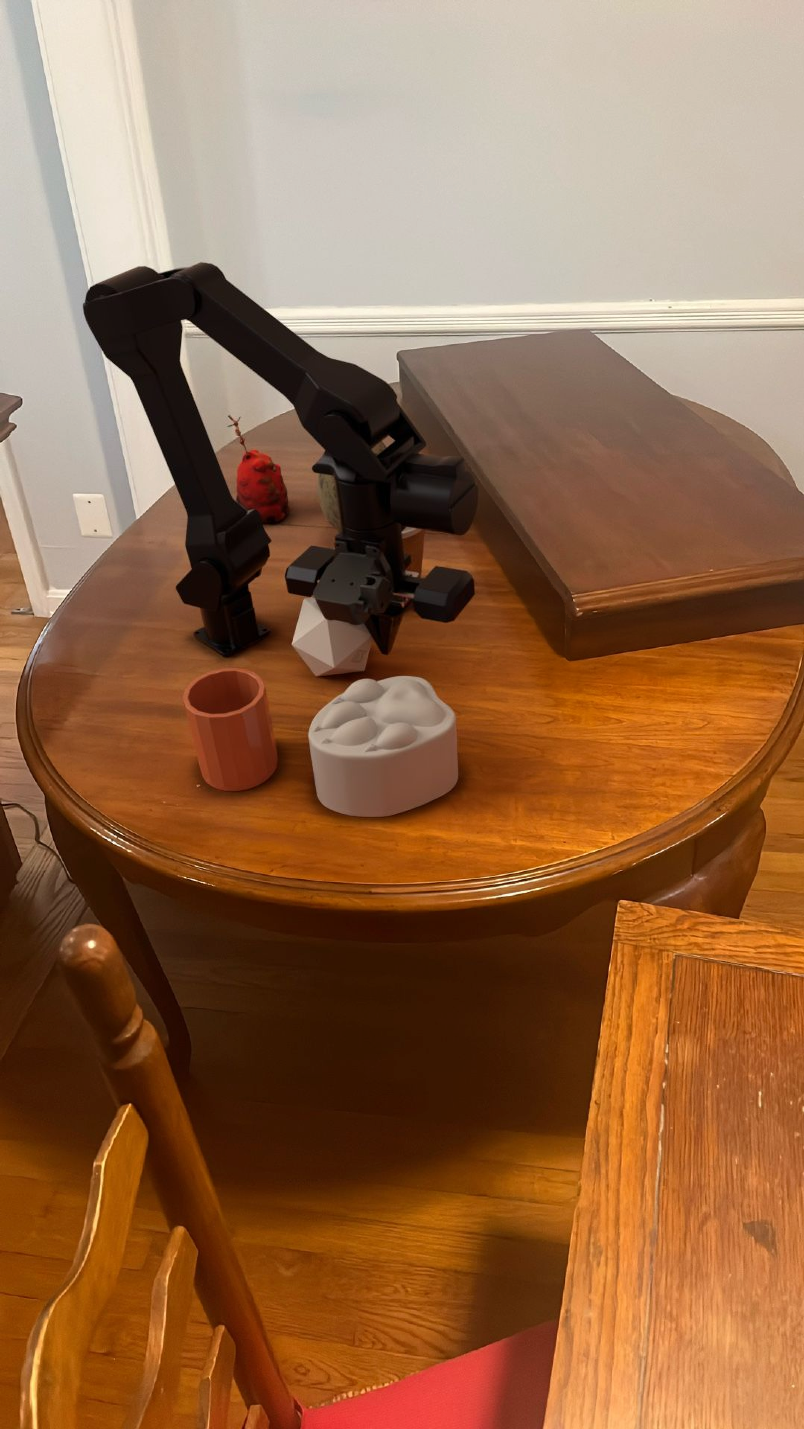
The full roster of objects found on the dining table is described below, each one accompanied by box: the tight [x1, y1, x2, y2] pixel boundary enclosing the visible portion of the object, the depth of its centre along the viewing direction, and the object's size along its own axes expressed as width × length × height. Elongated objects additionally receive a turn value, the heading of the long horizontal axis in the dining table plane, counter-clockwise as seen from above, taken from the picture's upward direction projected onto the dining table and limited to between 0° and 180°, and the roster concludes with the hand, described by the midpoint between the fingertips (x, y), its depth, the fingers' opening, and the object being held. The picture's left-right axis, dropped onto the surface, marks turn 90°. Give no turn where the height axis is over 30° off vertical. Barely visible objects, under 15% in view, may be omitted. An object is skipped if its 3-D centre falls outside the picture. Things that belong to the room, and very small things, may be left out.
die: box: [291, 596, 373, 677], centre depth 106 cm, size 8×9×10 cm
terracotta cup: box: [182, 667, 279, 792], centre depth 93 cm, size 7×7×9 cm
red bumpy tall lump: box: [227, 414, 290, 524], centre depth 133 cm, size 8×7×15 cm
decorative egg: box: [317, 440, 388, 533], centre depth 126 cm, size 11×11×15 cm
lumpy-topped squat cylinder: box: [308, 675, 459, 818], centre depth 91 cm, size 10×13×9 cm
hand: (386, 652), depth 104 cm, fingers closed
